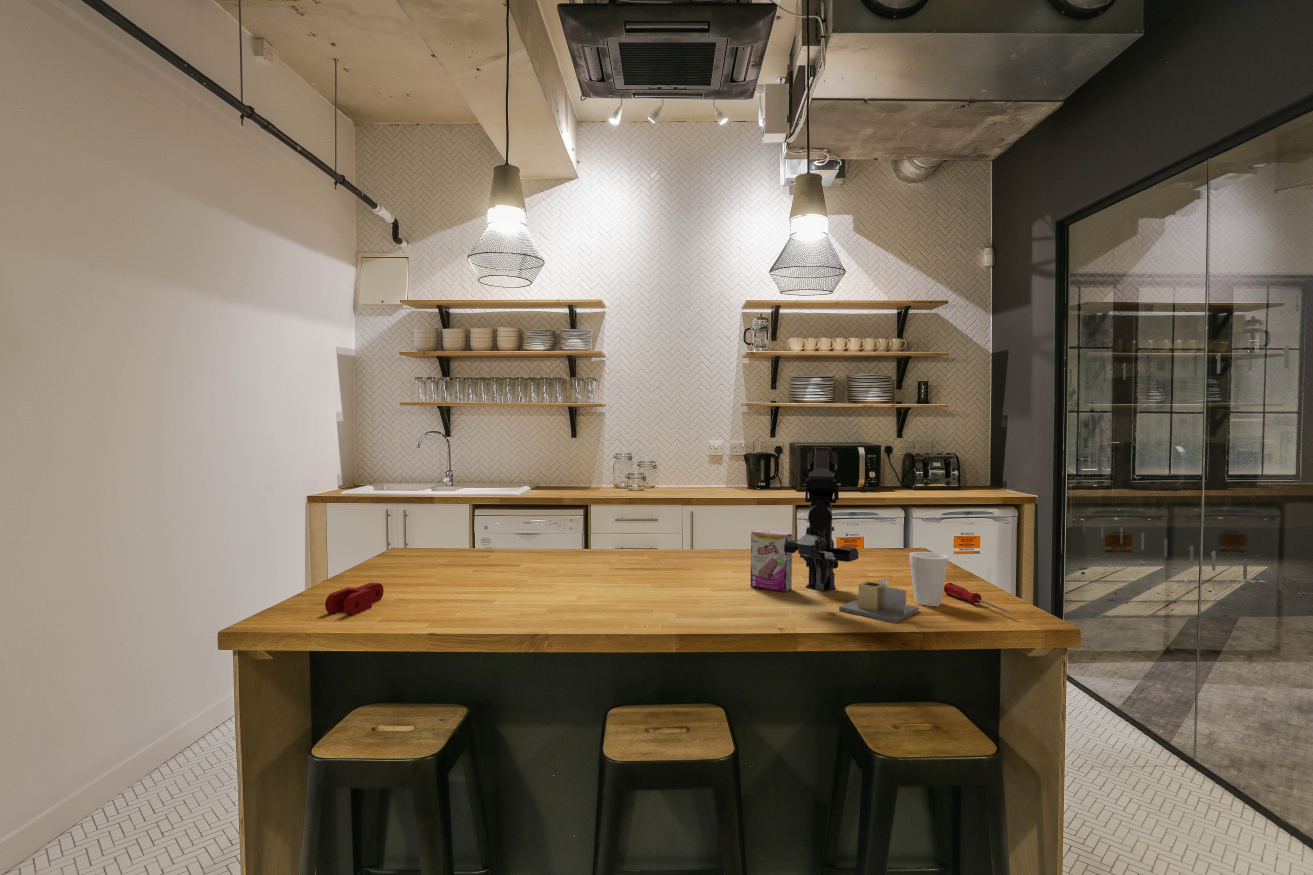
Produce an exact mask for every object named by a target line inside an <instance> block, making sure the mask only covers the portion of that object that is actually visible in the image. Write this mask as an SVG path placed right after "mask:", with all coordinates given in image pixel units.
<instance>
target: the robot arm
mask: <svg viewBox="0 0 1313 875" xmlns="http://www.w3.org/2000/svg"><path fill="white" fill-rule="evenodd" d="M807 469H809V473H808V478H806V479H805V497H804V500H805V501H804V502H805V503H810V504H809V508H808V509H809V510H808V515H807V519H808V522H809V526H807V527H806V529H805V535H803V536H801V537H800V538H799V539H795V538H794V539H792V540H790V541H786V542H785V544H784V552H788V553H792V554H795V553H796V551H797V553H798V555H799V557H800V558H801V559H803V560H804V561H805V562H806V563H805V567H806V568H808V584H806V585H805V588H808V587H811V588H810V589H813V588H816V558H823V559H821V562H822V565H823V566H822V584H824V590H827V591H829V590H831V589H830V588H832V589H834V588H833V587H835V586H836V585H835V572H834V570H836V569H838V568H839V561H840V562H844V563H845V562H846V563H848V562H849V563H850V562H852V561H853V562H854V561H856V560H859V556H860V555H859V551H858V548H856V547H852V546H845V545H843V546H840V547H835V542H834V540H833V536H832V534H833V532H834V531H835V526H833V506H832V504H836V503H837V500H838V501H839V497H840V496H839V494H840V493H839V487H840V486H839V483H838V480H837V479H834V476H835V470H837V469H838V453H837V452H835V451H833V450H832V448H831V447H829V446H815V447H813V450H811V451H809V452H808V453H807ZM835 588H836V587H835ZM828 589H829V590H828Z"/></svg>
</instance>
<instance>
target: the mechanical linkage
mask: <svg viewBox="0 0 1313 875" xmlns="http://www.w3.org/2000/svg"><path fill="white" fill-rule="evenodd" d="M383 597H384V586H383V584H382V583H380V582H378V583H377V582H368V583H365V584H363V585H360V586H358V587H345V588H341V589H339V590H337V591H332V592H331V593H330V594H328V596H327V597H326V600H325V603H324V609H325V610H326V612H327V613H328V614H339V613H341V612H343V611H344V613H345V614H346V615H351V616H355V614H356V615H358V614H360V613H362V611H363V612H365V611H368V610H370V609H372V606H373V604H375V603H377V601H378V602H379V600H380V601H381V600H382V598H383ZM374 602H375V603H374ZM372 603H373V604H372ZM367 609H368V610H367ZM342 610H343V611H342ZM340 611H341V612H340Z"/></svg>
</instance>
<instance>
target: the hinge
mask: <svg viewBox="0 0 1313 875" xmlns="http://www.w3.org/2000/svg"><path fill="white" fill-rule="evenodd" d="M888 583H889V579H888V578H883V579H880V580H877V581H868V580H866V581H863V582H861V583H859V584H858V595H857V596H858V598H857V599H858V608H861V609H866V610H871V611H875V612H878V611H880V610H883V611H887V612H892V613H897V614H902V615H905V614H906V605H907V603H906V602H907V589H901V588H896V587H891V586H888Z"/></svg>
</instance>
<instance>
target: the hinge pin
mask: <svg viewBox="0 0 1313 875" xmlns="http://www.w3.org/2000/svg"><path fill="white" fill-rule="evenodd" d="M821 559H823V558H816V589H815V590H816V591H823V590H824V584H822V566H823V565H822V562H821Z"/></svg>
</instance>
